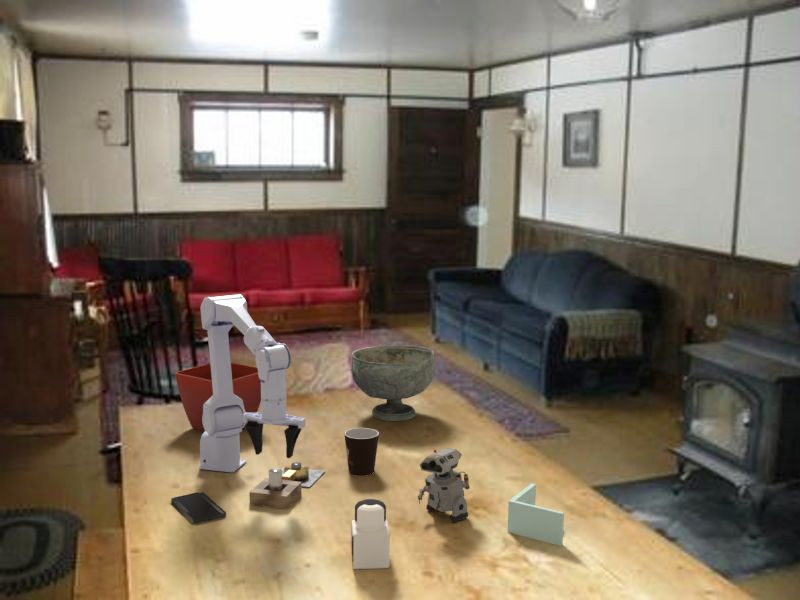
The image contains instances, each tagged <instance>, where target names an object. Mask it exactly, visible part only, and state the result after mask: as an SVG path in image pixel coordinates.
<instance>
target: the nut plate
mask: <svg viewBox="0 0 800 600" xmlns="http://www.w3.org/2000/svg"><path fill="white" fill-rule="evenodd" d="M285 467H286V466H285V465H284V466H283V467H282V468H281V469H282V475H283V474H284V468H285ZM323 473H324V474H325V473H326V470H320V469H311V468H309V476H308V477H306V478H304V479H299V480H295V481H297V482H301V488H303V489H304V488H305V489H310V488H311V487H312V486H313V485H314V484H315V483H317V481H318V480H319V479H320V478H321V477H322V476H323V475H324V474H323ZM319 477H320V478H319Z"/></svg>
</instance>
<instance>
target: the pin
mask: <svg viewBox="0 0 800 600" xmlns="http://www.w3.org/2000/svg"><path fill="white" fill-rule="evenodd" d="M268 478H269V490H273V491H282V468H280V467H279V468H277V467H274V468H269V470H268Z"/></svg>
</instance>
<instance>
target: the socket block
mask: <svg viewBox="0 0 800 600" xmlns="http://www.w3.org/2000/svg"><path fill="white" fill-rule="evenodd" d="M301 495H302V487H301V482H297V481H289V480H282V491H273V490H269V477H265V478H264V479H263V480H261V481H260V482H259V483H258V484H256V485H255V487H253V488H252V489H251V490H250V491H249V505H251V506H256V507H257V506H258V507H259V506H260V507H265V508H266V507H268V508H275V509H283V510H288V509H289V507H291V506H292V505H293V504H294V502H295V501H296V500H297V499H298V498H299V497H301Z"/></svg>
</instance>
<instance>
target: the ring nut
mask: <svg viewBox="0 0 800 600" xmlns="http://www.w3.org/2000/svg"><path fill="white" fill-rule="evenodd" d="M309 469H310V468H309V467H308V465H306V464H302V463H301V462H298V461H295V462H291V464H289V465H286V466H285V468H284V474H283V475H282V480H289V481H295V480H299V479H304V478H306V477H308V476H309Z"/></svg>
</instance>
